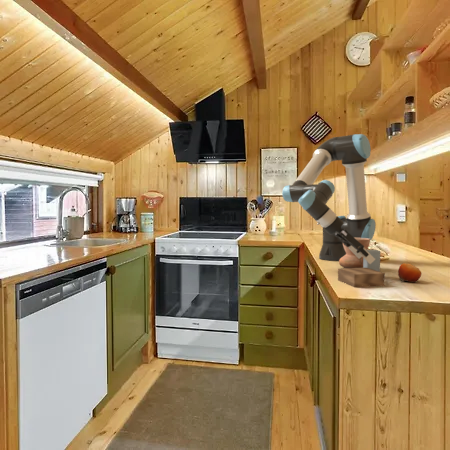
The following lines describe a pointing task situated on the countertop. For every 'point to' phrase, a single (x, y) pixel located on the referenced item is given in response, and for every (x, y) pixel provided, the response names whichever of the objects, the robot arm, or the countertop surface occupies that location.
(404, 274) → the fruit
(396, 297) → the countertop surface
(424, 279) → the countertop surface
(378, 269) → the pillar
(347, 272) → the walnut slab
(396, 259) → the countertop surface
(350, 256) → the ceramic jug
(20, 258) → the countertop surface
